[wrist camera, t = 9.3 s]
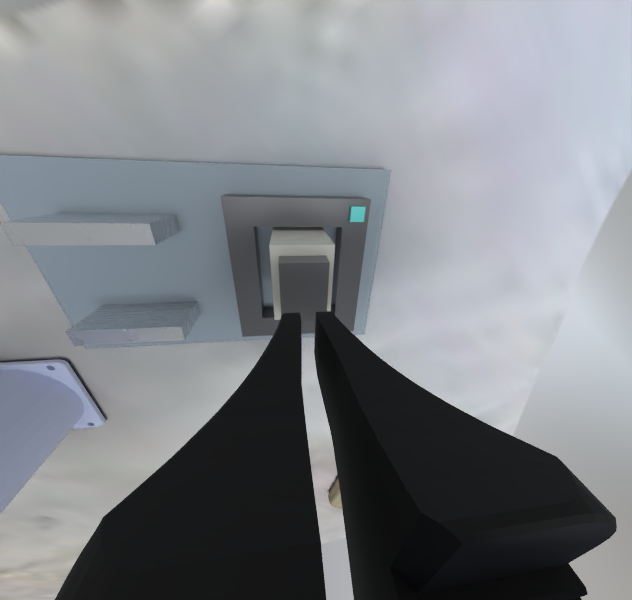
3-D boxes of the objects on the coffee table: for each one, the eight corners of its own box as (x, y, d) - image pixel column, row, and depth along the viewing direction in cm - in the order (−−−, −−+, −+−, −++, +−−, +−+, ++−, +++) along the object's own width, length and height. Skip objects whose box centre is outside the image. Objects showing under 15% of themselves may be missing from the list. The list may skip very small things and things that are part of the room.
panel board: (95, 339, 18) (85, 348, 17) (-6, 155, 12) (-28, 154, 11) (360, 327, 20) (364, 334, 19) (384, 169, 14) (390, 169, 13)
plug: (276, 284, 16) (273, 331, 11) (273, 225, 14) (267, 251, 9) (319, 283, 16) (333, 328, 12) (321, 225, 15) (339, 251, 10)
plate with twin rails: (109, 317, 16) (74, 345, 13) (58, 212, 13) (-1, 222, 10) (200, 313, 16) (185, 340, 14) (175, 213, 13) (149, 223, 11)
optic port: (245, 324, 17) (241, 339, 16) (226, 194, 13) (218, 196, 11) (348, 320, 18) (354, 333, 17) (362, 197, 14) (372, 200, 12)
